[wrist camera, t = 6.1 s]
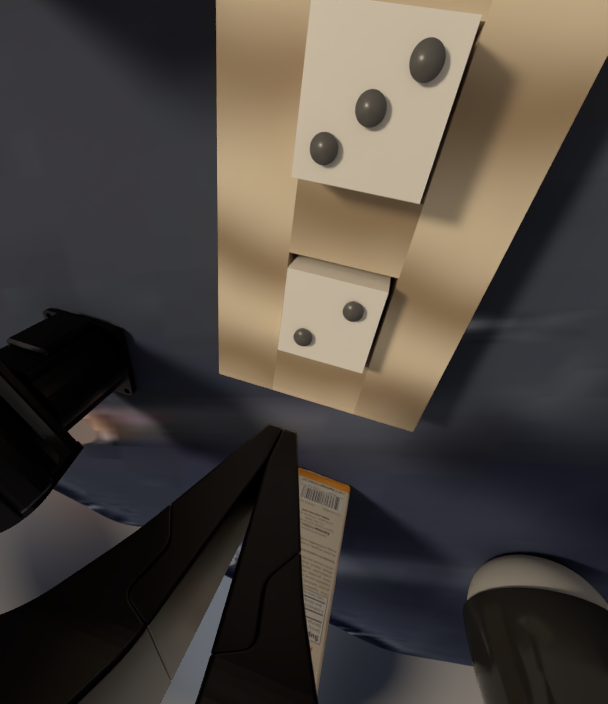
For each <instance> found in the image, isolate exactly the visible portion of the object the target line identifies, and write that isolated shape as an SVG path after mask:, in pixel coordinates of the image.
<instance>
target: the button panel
mask: <svg viewBox="0 0 608 704" xmlns="http://www.w3.org/2000/svg"><path fill="white" fill-rule="evenodd" d="M373 1H381V2H389V3H396V4H404V5H412V6H419V7H427V8H435V9H442V10H450V11H458V12H465V13H473V14H480V15H482V17H481V20H480V23H479V26H478V29H477V32H476V35H475V38H474V41H473V44H472V47H471V50H470V53H469V56H468V59H467V62H466V65H465V68H464V71H463V74H462V77H461V81H460V84H459V87H458V90H457V93H456V96H455V99H454V102H453V105H452V108H451V111H450V114H449V117H448V120H447V123H446V126H445V129H444V132H443V135H442V138H441V141H440V144H439V147H438V150H437V153H436V156H435V159H434V162H433V165H432V168H431V171H430V174H429V177H428V180H427V183H426V186H425V189H424V192H423V196H422V199H421V202H420V204H417V203H413V202H408V201H403V200H398V199H393V198H389V197H384V196H379V195H374V194H370V193H365V192H360V191H355V190H351V189H346V188H341V187H336V186H331V185H327V184H322V183H317V182H312V181H308V180H303V179H298V178H293V177H291V176H292V167H293V158H294V149H295V140H296V131H297V122H298V113H299V104H300V95H301V86H302V77H303V68H304V58H305V49H306V40H307V31H308V22H309V13H310V4H311V0H216V63H217V183H218V303H219V374H222V375H226V376H229V377H232V378H236V379H239V380H242V381H246V382H249V383H252V384H256V385H259V386H262V387H265V388H269V389H272V390H275V391H279V392H282V393H285V394H289V395H292V396H295V397H299V398H302V399H305V400H309V401H312V402H315V403H318V404H322V405H325V406H328V407H332V408H335V409H338V410H342V411H345V412H348V413H352V414H355V415H358V416H362V417H365V418H368V419H371V420H375V421H378V422H381V423H385V424H388V425H391V426H395V427H398V428H401V429H405V430H408V431H411V432H413V431H414V429H415V427H416V425H417V423H418V421H419V419H420V417H421V415H422V413H423V412H424V410H425V408H426V406H427V404H428V402H429V400H430V398H431V396H432V394H433V392H434V390H435V388H436V386H437V384H438V383H439V381H440V379H441V377H442V375H443V373H444V371H445V369H446V367H447V365H448V363H449V361H450V359H451V357H452V355H453V354H454V352H455V350H456V348H457V346H458V344H459V342H460V340H461V338H462V336H463V334H464V332H465V330H466V328H467V326H468V324H469V323H470V321H471V319H472V317H473V315H474V313H475V311H476V309H477V307H478V305H479V303H480V301H481V299H482V297H483V295H484V294H485V292H486V290H487V288H488V286H489V284H490V282H491V280H492V278H493V276H494V274H495V272H496V270H497V268H498V266H499V264H500V263H501V261H502V259H503V257H504V255H505V253H506V251H507V249H508V247H509V245H510V243H511V241H512V239H513V237H514V235H515V234H516V232H517V230H518V228H519V226H520V224H521V222H522V220H523V218H524V216H525V214H526V212H527V210H528V208H529V206H530V205H531V203H532V201H533V199H534V197H535V195H536V193H537V191H538V189H539V187H540V185H541V183H542V181H543V179H544V177H545V175H546V174H547V172H548V170H549V168H550V166H551V164H552V162H553V160H554V158H555V156H556V154H557V152H558V150H559V148H560V146H561V145H562V143H563V141H564V139H565V137H566V135H567V133H568V131H569V129H570V127H571V125H572V123H573V121H574V119H575V117H576V116H577V114H578V112H579V110H580V108H581V106H582V104H583V102H584V100H585V98H586V96H587V94H588V92H589V90H590V88H591V86H592V85H593V83H594V81H595V79H596V77H597V75H598V73H599V71H600V69H601V67H602V65H603V63H604V61H605V59H606V57H607V56H608V0H373ZM299 255H304V256H308V257H312V258H316V259H320V260H324V261H328V262H333V263H337V264H341V265H345V266H349V267H353V268H357V269H362V270H366V271H370V272H374V273H378V274H382V275H386V276H391V277H395V278H394V281H393V284H392V287H391V290H390V293H389V296H388V299H387V302H386V305H385V308H384V312H383V315H382V318H381V321H380V324H379V327H378V330H377V333H376V336H375V339H374V342H373V343H372V345H371V348H370V351H369V354H368V357H367V360H366V363H365V366H364V369H363V372H362V373H358V372H355V371H351V370H347V369H344V368H340V367H337V366H333V365H330V364H326V363H323V362H319V361H316V360H312V359H309V358H305V357H302V356H298V355H295V354H291V353H288V352H284V351H281V350H278V342H279V334H280V326H281V318H282V309H283V301H284V293H285V285H286V277H287V268H288V267H289V265H290V264H291V263H292V262H293V261H294V260H295V259H296V258H297V257H298V256H299Z"/></svg>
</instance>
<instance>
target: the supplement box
mask: <svg viewBox="0 0 608 704" xmlns="http://www.w3.org/2000/svg"><path fill="white" fill-rule="evenodd" d="M298 472H299V502H300V532H301V553H300V554H301V557H302V580H303V596H304V605H305V613H306V621H307V629H308V636H309V643H310V650H311V656H312V663H313V670H314V677H315V684H316V690H317V693H318V687H319V680H320V674H321V667H322V661H323V655H324V648H325V642H326V637H327V630H328V624H329V618H330V612H331V606H332V600H333V594H334V588H335V582H336V576H337V569H338V563H339V557H340V551H341V545H342V539H343V532H344V526H345V521H346V514H347V508H348V502H349V495H350V486H348V485H347V484H344V483H341V482H339V481H335V480H333V479H330V478H328V477H325V476H322V475H320V474H317V473H314V472H311V471H308V470H305V469H302V468H299V469H298Z"/></svg>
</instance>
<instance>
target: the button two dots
mask: <svg viewBox="0 0 608 704" xmlns="http://www.w3.org/2000/svg"><path fill="white" fill-rule="evenodd" d="M390 279H391V276H386V275H382V274H378V273H374V272H370V271H366V270H362V269H357V268H353V267H349V266H345V265H341V264H337V263H333V262H328V261H324V260H320V259H316V258H312V257H308V256H304V255H299V256H298V257H297V258H296V259H295V260H294V261H293V262H292V263H291V264H290V265H289V267H288V268H287V277H286V285H285V293H284V301H283V309H282V318H281V326H280V334H279V342H278V350H281V351H284V352H288V353H291V354H295V355H298V356H302V357H305V358H309V359H312V360H316V361H319V362H323V363H326V364H330V365H333V366H337V367H340V368H344V369H347V370H351V371H355V372H358V373H362V372H363V369H364V366H365V363H366V360H367V357H368V354H369V351H370V348H371V345H372V342H373V339H374V336H375V333H376V330H377V327H378V323H379V320H380V317H381V314H382V311H383V308H384V305H385V302H386V299H387V296H388V293H389V286H390Z"/></svg>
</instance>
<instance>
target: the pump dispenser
mask: <svg viewBox="0 0 608 704" xmlns="http://www.w3.org/2000/svg"><path fill="white" fill-rule="evenodd" d="M463 616H464V625H465V631H466V636H467V641H468V645H469V650H470V654H471V659H472V663H473V667H474V671H475V675H476V679H477V683H478V686H479V690H480V693H481V697H482V700H483V703H484V704H608V604H607V603H606V601H605V600H604V599H603V597H602V596H601V595H600V594H599V593H598V592H597V591H596V590H595V589H594V588H593V587H592V586H591V585H590V584H589V583H588V582H587V581H586V580H585V579H583V578H582V577H581V576H579V575H578V574H576V573H575V572H574V571H572V570H570V569H568V568H567V567H565V566H563V565H561V564H559V563H556V562H554V561H551V560H548V559H545V558H541V557H536V556H531V555H506V556H501V557H497V558H494V559H492V560H490V561H488V562H486V563H485V564H483V565H482V566H481V567H480V568H479V569H478V570H477V571H476V573H475V574H474V576H473V578H472V580H471V583H470V586H469V590H468V596H467V601H466V603H465V605H464V607H463Z"/></svg>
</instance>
